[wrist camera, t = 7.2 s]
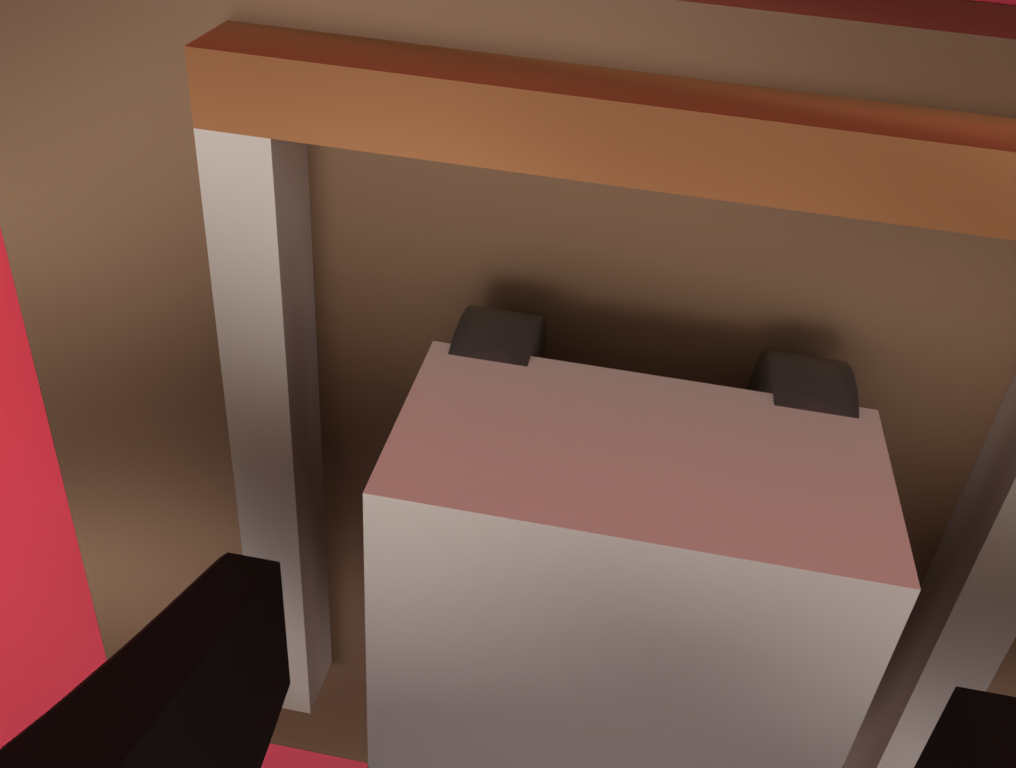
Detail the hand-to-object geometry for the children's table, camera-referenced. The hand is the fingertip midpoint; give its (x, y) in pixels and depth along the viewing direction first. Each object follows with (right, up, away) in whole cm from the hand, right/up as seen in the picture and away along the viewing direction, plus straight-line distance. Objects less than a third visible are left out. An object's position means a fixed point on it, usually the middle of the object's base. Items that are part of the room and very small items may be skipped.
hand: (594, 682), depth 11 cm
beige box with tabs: (+1, +1, +2) cm, 3 cm away
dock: (+1, +2, +3) cm, 4 cm away
